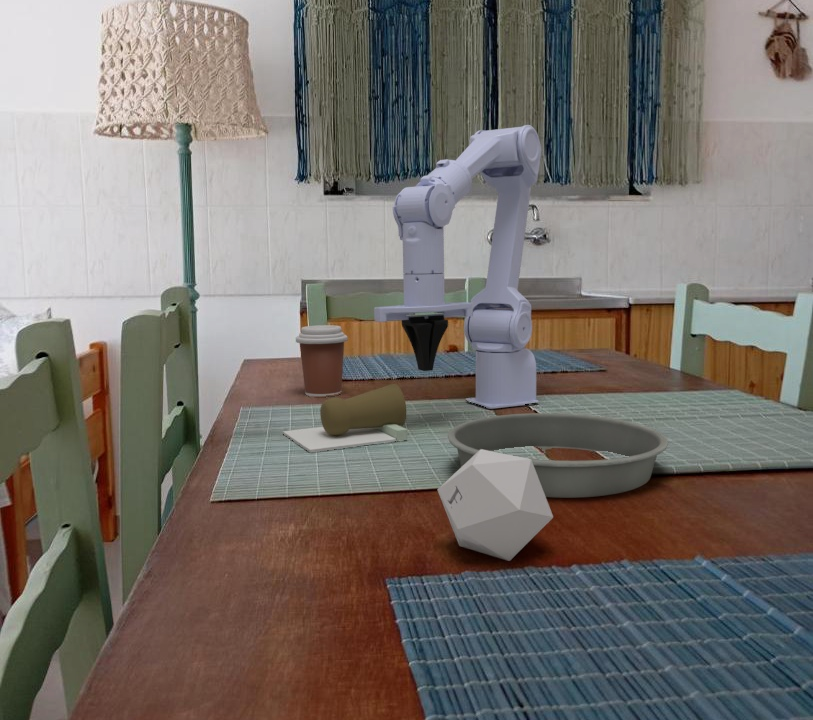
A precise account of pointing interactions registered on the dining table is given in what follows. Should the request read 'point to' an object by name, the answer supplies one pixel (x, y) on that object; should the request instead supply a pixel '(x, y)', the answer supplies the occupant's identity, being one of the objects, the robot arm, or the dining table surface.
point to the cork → (364, 410)
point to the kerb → (394, 431)
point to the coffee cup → (322, 359)
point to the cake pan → (573, 434)
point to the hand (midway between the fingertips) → (425, 369)
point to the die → (495, 503)
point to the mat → (335, 438)
